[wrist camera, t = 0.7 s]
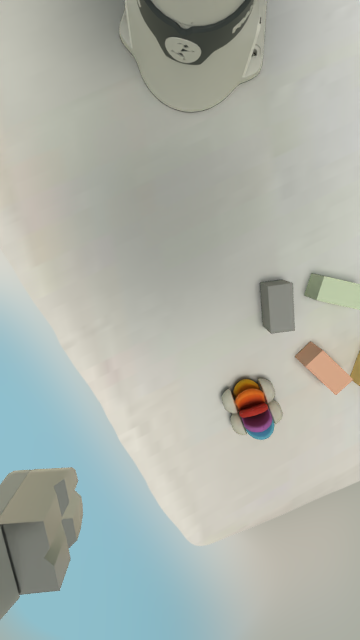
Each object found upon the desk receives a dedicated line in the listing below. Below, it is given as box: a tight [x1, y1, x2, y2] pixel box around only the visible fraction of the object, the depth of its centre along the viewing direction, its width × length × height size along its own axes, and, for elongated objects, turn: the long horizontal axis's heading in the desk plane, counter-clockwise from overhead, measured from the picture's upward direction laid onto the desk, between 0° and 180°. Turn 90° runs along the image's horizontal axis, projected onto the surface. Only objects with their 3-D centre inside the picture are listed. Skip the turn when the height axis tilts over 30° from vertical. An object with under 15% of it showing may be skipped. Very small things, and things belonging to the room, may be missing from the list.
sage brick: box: [304, 273, 360, 310], centre depth 46 cm, size 7×4×4 cm, turn 77°
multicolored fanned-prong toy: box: [222, 379, 283, 440], centre depth 49 cm, size 8×10×7 cm
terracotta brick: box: [295, 341, 353, 395], centre depth 49 cm, size 7×4×4 cm, turn 48°
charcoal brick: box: [260, 280, 295, 334], centre depth 46 cm, size 7×4×4 cm, turn 8°
